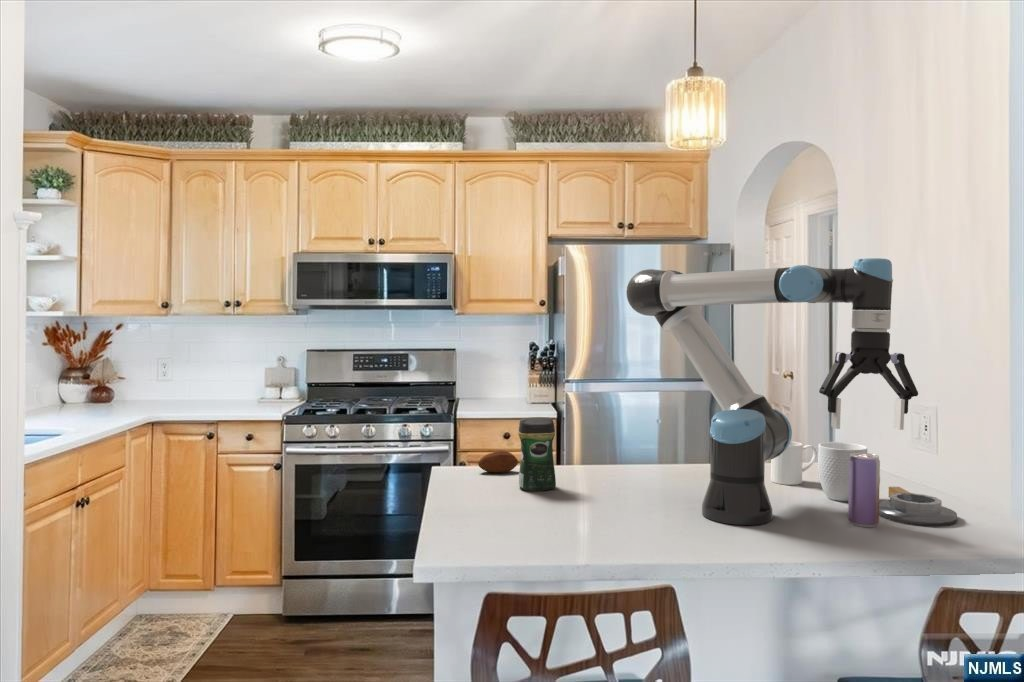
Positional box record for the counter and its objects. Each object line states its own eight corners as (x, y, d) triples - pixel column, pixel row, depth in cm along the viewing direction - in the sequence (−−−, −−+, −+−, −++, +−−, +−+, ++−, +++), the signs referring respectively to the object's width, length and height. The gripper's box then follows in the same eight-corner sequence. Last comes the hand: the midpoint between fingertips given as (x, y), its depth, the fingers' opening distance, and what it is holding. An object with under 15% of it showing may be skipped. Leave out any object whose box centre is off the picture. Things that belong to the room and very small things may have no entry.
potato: (476, 471, 211) (476, 449, 211) (515, 469, 213) (515, 447, 213) (479, 475, 205) (479, 453, 205) (519, 473, 208) (519, 451, 207)
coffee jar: (552, 483, 195) (552, 414, 194) (558, 491, 187) (558, 419, 186) (516, 485, 194) (516, 415, 193) (520, 492, 186) (520, 419, 185)
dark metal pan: (894, 525, 156) (894, 507, 156) (859, 502, 175) (859, 486, 175) (972, 527, 155) (972, 508, 155) (928, 503, 174) (928, 487, 174)
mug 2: (891, 503, 175) (892, 449, 174) (865, 510, 169) (866, 454, 168) (834, 490, 187) (835, 440, 187) (808, 496, 181) (808, 444, 180)
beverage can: (865, 529, 154) (866, 458, 153) (841, 521, 159) (843, 453, 159) (885, 525, 156) (886, 456, 156) (861, 518, 162) (862, 451, 161)
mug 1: (779, 485, 192) (779, 446, 192) (765, 478, 200) (766, 441, 200) (823, 484, 194) (823, 445, 193) (808, 477, 202) (808, 440, 201)
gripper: (819, 330, 154) (816, 430, 155) (938, 332, 153) (934, 432, 154) (805, 329, 161) (802, 424, 162) (919, 330, 161) (915, 426, 162)
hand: (866, 428), depth 158 cm, fingers open, 13 cm apart
